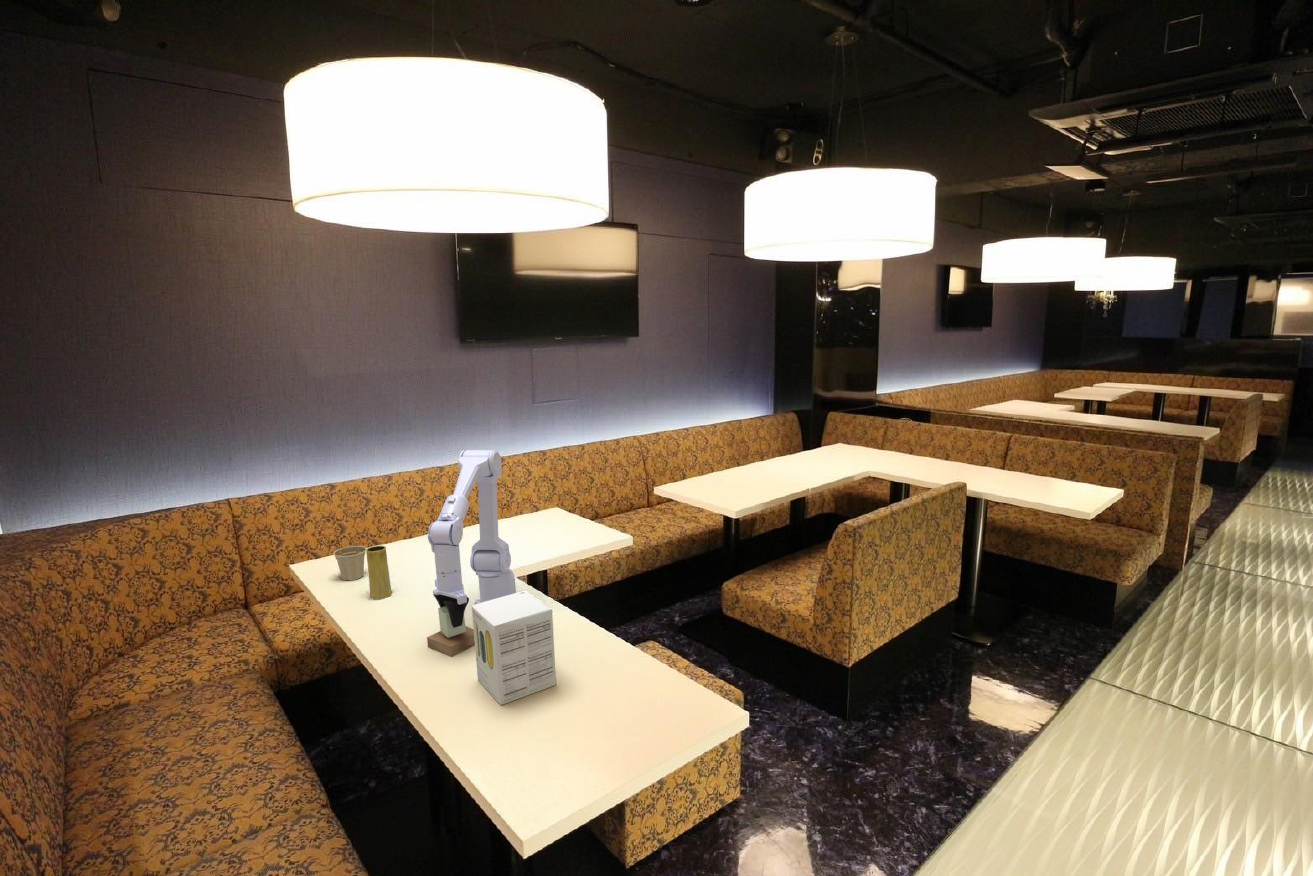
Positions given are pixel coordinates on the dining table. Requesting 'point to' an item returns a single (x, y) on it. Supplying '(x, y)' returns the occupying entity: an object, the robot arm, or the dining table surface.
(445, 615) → the sage block
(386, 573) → the vase
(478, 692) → the dining table surface
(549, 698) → the dining table surface
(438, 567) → the robot arm
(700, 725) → the dining table surface
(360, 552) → the flower pot
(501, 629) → the supplement box
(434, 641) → the walnut slab
